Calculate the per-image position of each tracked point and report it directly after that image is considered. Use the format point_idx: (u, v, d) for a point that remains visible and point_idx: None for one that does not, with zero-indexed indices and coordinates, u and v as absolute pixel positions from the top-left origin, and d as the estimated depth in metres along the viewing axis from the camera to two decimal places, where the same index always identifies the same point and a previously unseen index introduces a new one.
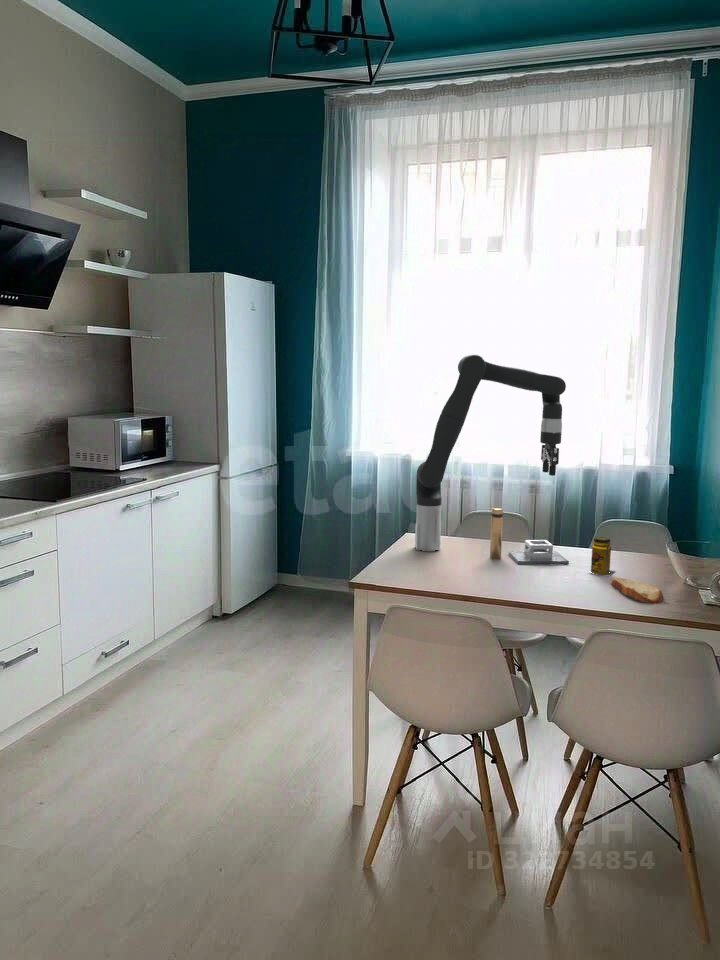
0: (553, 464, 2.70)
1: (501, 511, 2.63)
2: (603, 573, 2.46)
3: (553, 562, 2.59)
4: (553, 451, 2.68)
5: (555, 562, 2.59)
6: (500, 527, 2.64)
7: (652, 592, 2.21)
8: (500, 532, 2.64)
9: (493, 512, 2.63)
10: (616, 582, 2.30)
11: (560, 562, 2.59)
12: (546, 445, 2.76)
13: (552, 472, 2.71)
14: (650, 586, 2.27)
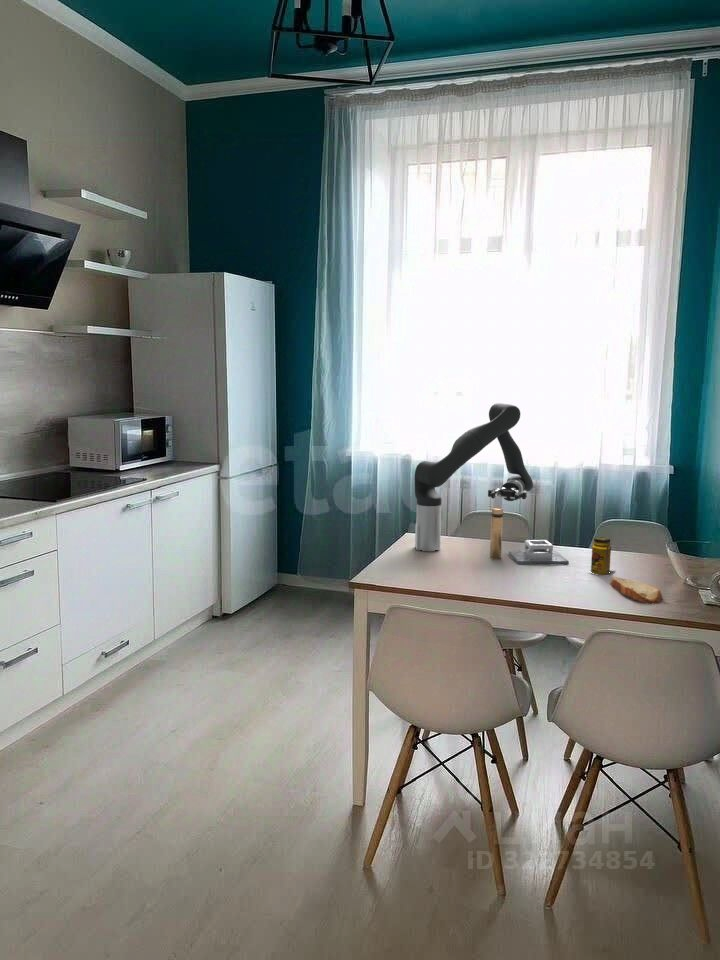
0: (522, 495, 2.76)
1: (501, 511, 2.63)
2: (603, 573, 2.46)
3: (553, 562, 2.59)
4: (526, 491, 2.80)
5: (555, 562, 2.59)
6: (500, 527, 2.64)
7: (651, 592, 2.21)
8: (500, 532, 2.64)
9: (493, 512, 2.63)
10: (615, 582, 2.30)
11: (560, 562, 2.59)
12: None
13: (518, 496, 2.73)
14: (649, 586, 2.27)
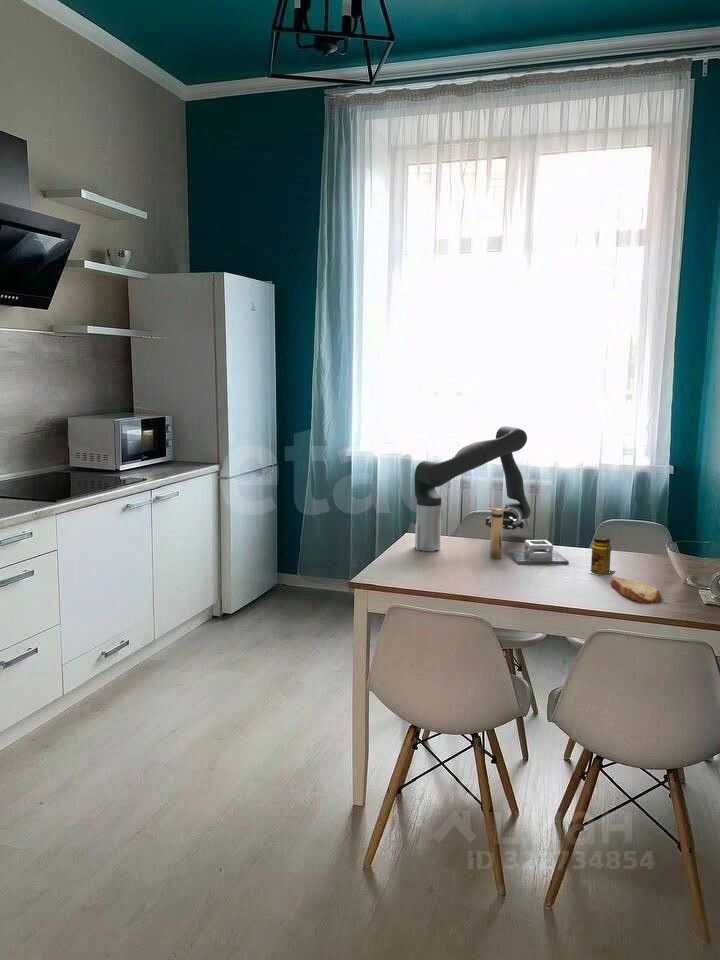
0: (520, 524, 2.76)
1: (501, 511, 2.63)
2: (603, 573, 2.46)
3: (553, 562, 2.59)
4: (524, 520, 2.80)
5: (555, 562, 2.59)
6: (500, 527, 2.64)
7: (650, 592, 2.21)
8: (500, 532, 2.64)
9: (493, 512, 2.63)
10: (615, 582, 2.30)
11: (560, 562, 2.59)
12: None
13: (516, 525, 2.74)
14: (649, 586, 2.27)
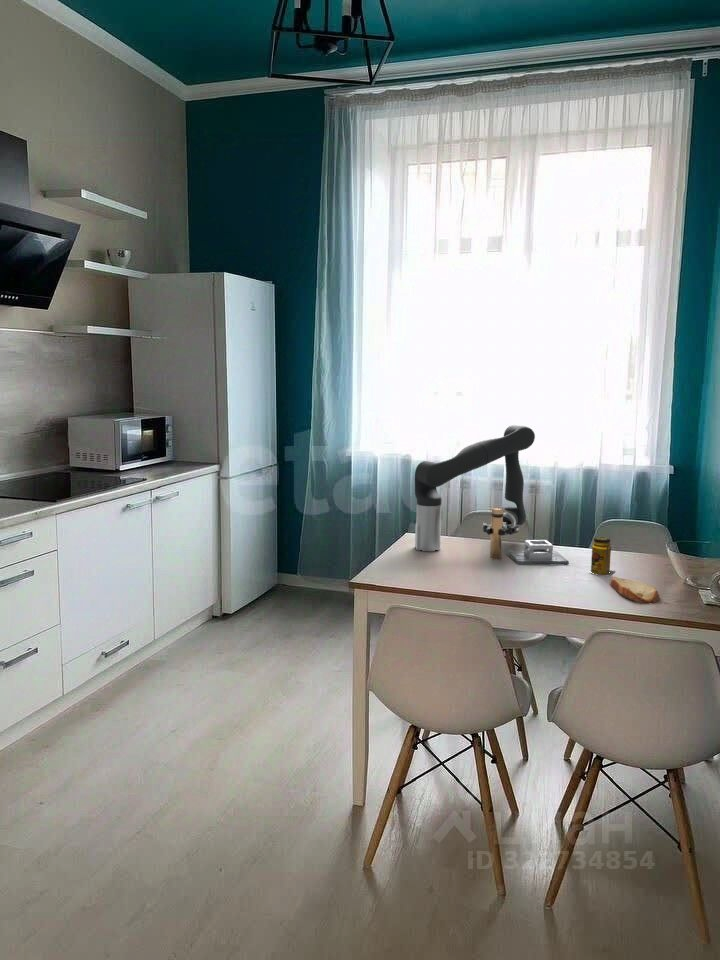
0: (509, 530, 2.65)
1: (501, 511, 2.63)
2: (603, 573, 2.46)
3: (553, 562, 2.59)
4: (517, 527, 2.68)
5: (555, 562, 2.59)
6: (500, 527, 2.64)
7: (648, 592, 2.20)
8: None
9: (493, 512, 2.63)
10: (614, 582, 2.31)
11: (560, 562, 2.59)
12: None
13: (504, 532, 2.63)
14: (648, 586, 2.27)
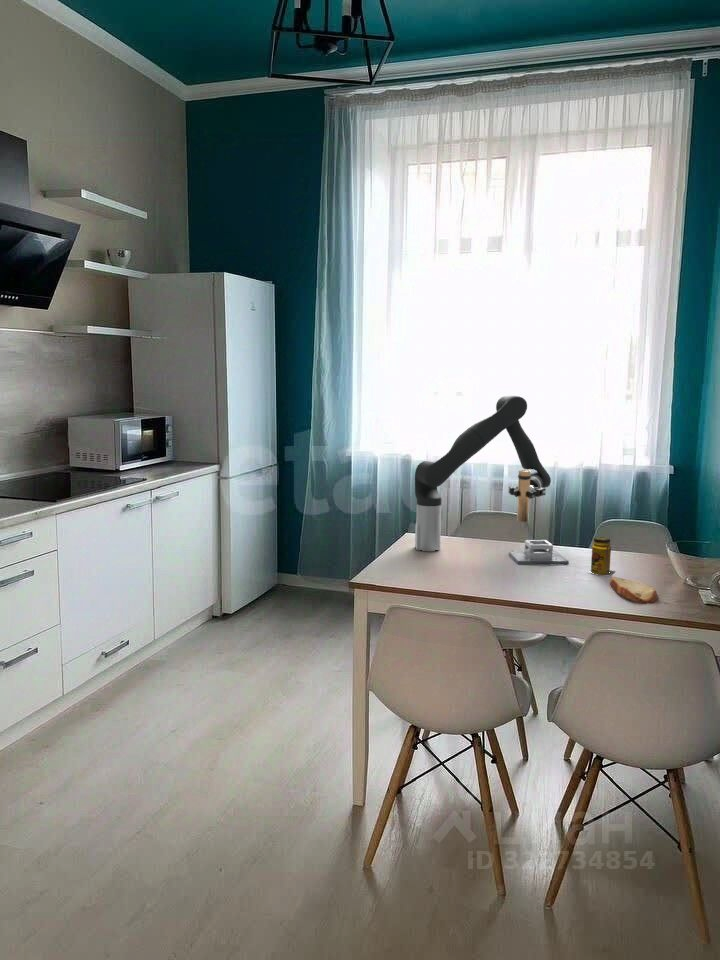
0: (536, 492, 2.63)
1: (528, 473, 2.60)
2: (603, 573, 2.46)
3: (553, 562, 2.59)
4: (544, 489, 2.66)
5: (555, 562, 2.59)
6: (527, 489, 2.61)
7: (646, 592, 2.20)
8: (527, 494, 2.61)
9: (520, 474, 2.61)
10: (613, 581, 2.31)
11: (560, 562, 2.59)
12: None
13: None
14: (647, 587, 2.27)
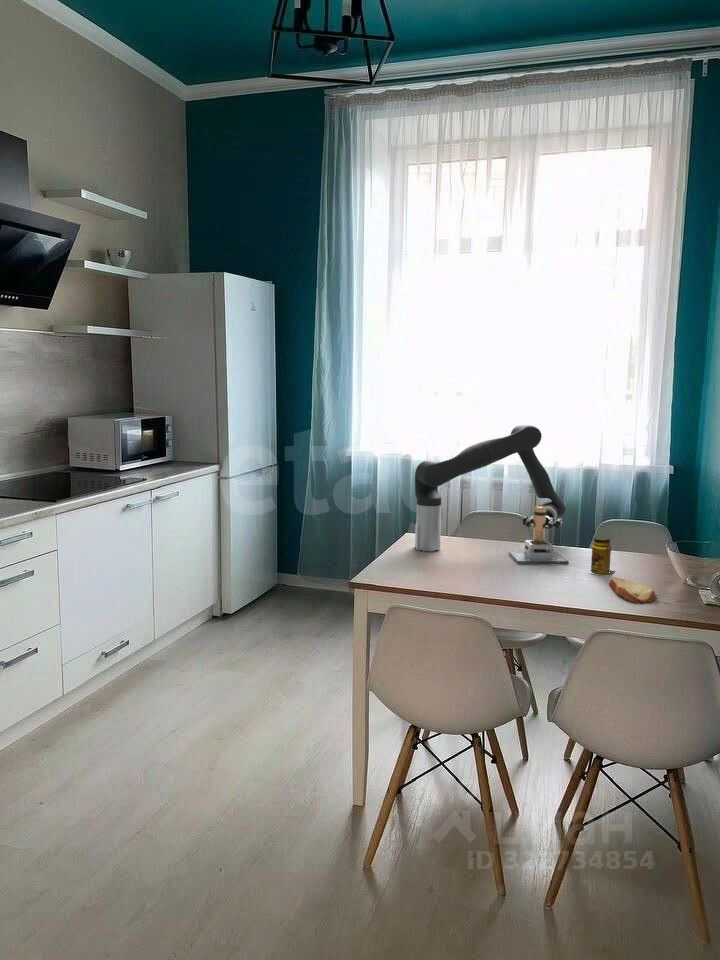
0: (556, 523, 2.63)
1: (544, 509, 2.61)
2: (603, 573, 2.46)
3: (553, 562, 2.59)
4: (561, 520, 2.67)
5: (555, 562, 2.59)
6: (543, 525, 2.62)
7: (644, 592, 2.20)
8: (543, 530, 2.62)
9: (536, 510, 2.62)
10: (612, 582, 2.31)
11: (560, 562, 2.59)
12: None
13: (552, 525, 2.61)
14: (646, 587, 2.27)
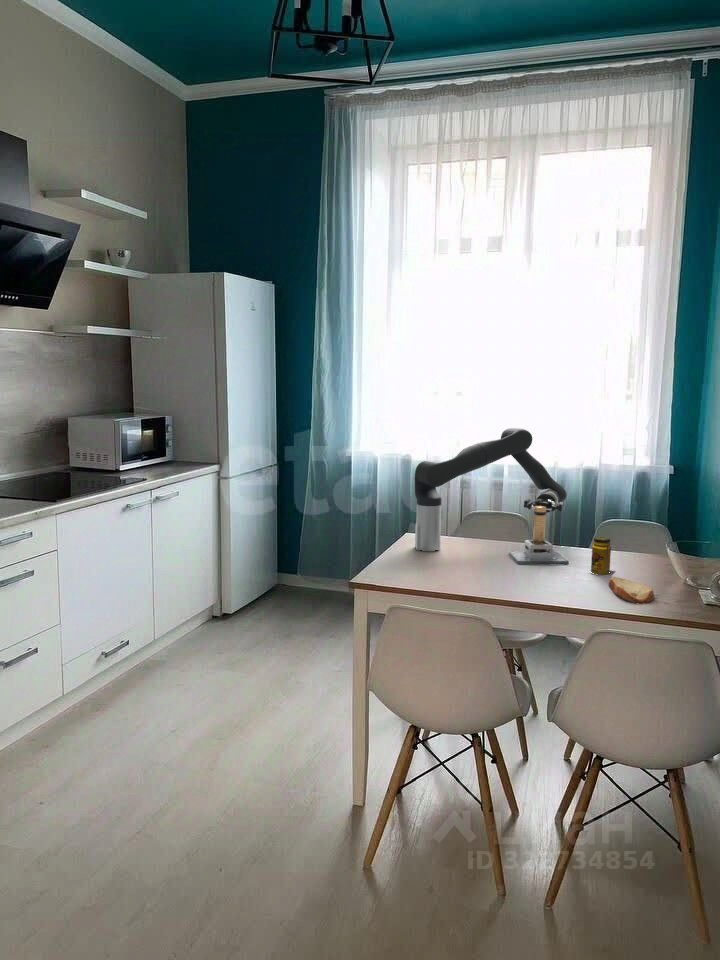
0: (559, 506, 2.76)
1: (544, 509, 2.61)
2: (603, 573, 2.46)
3: (553, 562, 2.59)
4: None
5: (555, 562, 2.59)
6: (543, 525, 2.62)
7: (643, 592, 2.20)
8: (543, 530, 2.63)
9: (536, 510, 2.62)
10: (611, 581, 2.31)
11: (560, 562, 2.59)
12: None
13: None
14: (645, 587, 2.26)
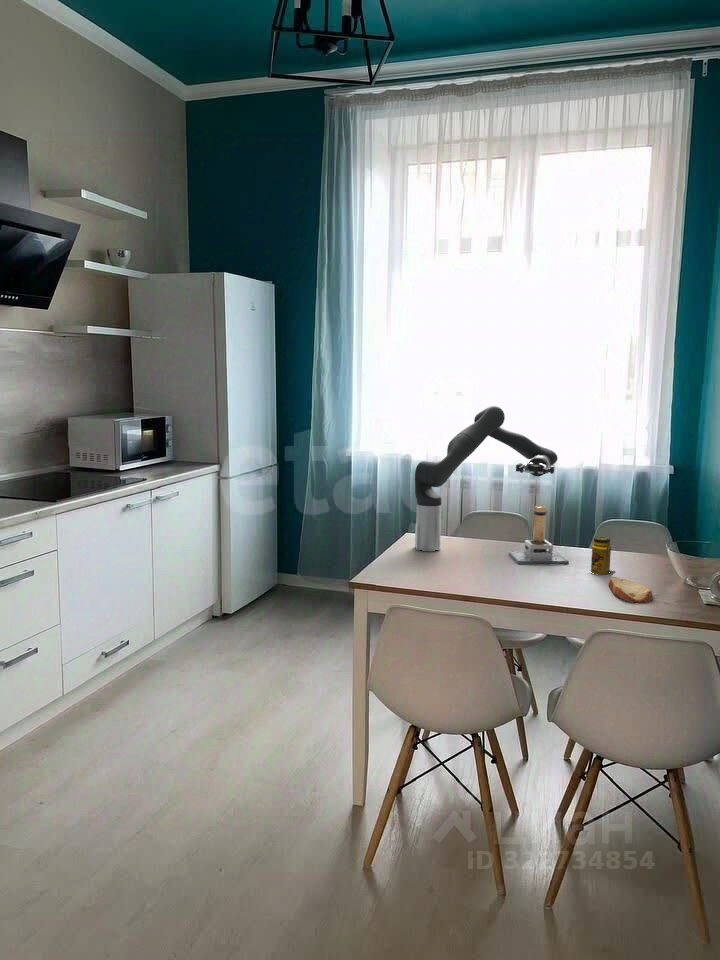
0: (550, 469, 2.80)
1: (544, 509, 2.61)
2: (603, 573, 2.46)
3: (553, 562, 2.59)
4: (554, 466, 2.84)
5: (555, 562, 2.59)
6: (543, 525, 2.62)
7: (641, 593, 2.20)
8: (543, 530, 2.63)
9: (536, 510, 2.62)
10: (611, 581, 2.31)
11: (560, 562, 2.59)
12: None
13: (546, 470, 2.78)
14: (644, 587, 2.26)
